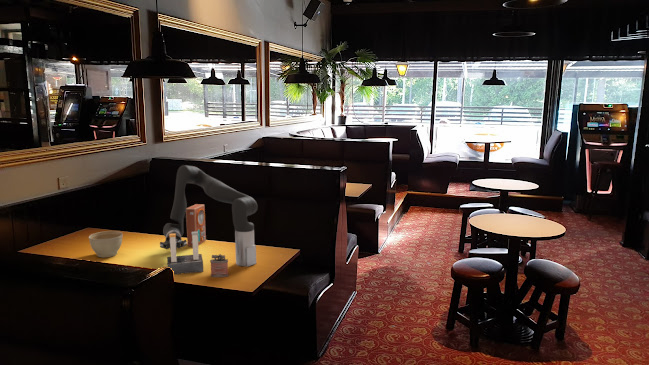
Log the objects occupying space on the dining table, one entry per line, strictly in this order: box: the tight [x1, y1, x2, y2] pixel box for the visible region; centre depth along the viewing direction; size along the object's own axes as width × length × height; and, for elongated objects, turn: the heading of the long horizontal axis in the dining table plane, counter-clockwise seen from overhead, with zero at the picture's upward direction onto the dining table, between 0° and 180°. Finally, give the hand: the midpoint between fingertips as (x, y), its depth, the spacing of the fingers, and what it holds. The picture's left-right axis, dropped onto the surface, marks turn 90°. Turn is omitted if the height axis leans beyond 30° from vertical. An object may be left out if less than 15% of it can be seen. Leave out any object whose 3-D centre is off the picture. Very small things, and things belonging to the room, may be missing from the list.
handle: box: [192, 231, 200, 260], centre depth 227 cm, size 3×3×13 cm
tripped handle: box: [169, 233, 177, 262], centre depth 224 cm, size 3×3×13 cm
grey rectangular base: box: [166, 253, 204, 275], centre depth 230 cm, size 12×16×5 cm
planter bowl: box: [88, 230, 124, 258], centre depth 251 cm, size 16×16×11 cm
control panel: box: [185, 203, 207, 247], centre depth 271 cm, size 21×7×15 cm
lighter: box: [209, 254, 230, 278], centre depth 221 cm, size 8×3×10 cm, turn 92°
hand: (173, 248), depth 225 cm, fingers closed
